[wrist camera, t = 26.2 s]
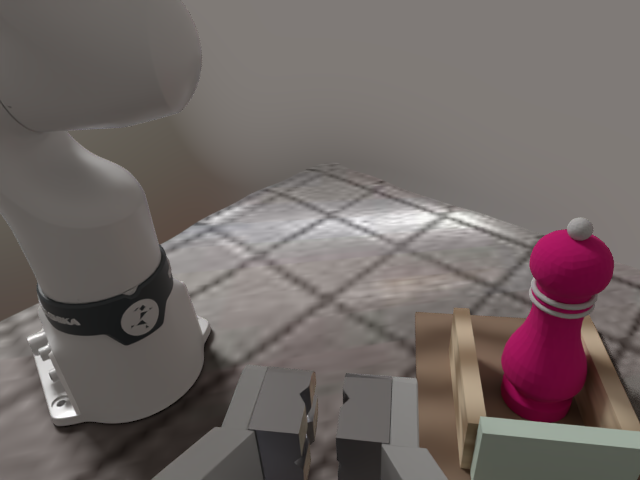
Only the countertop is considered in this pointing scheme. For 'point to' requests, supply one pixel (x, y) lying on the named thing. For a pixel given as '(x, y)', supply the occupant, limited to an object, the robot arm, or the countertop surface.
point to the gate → (553, 452)
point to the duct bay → (495, 384)
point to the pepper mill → (555, 323)
